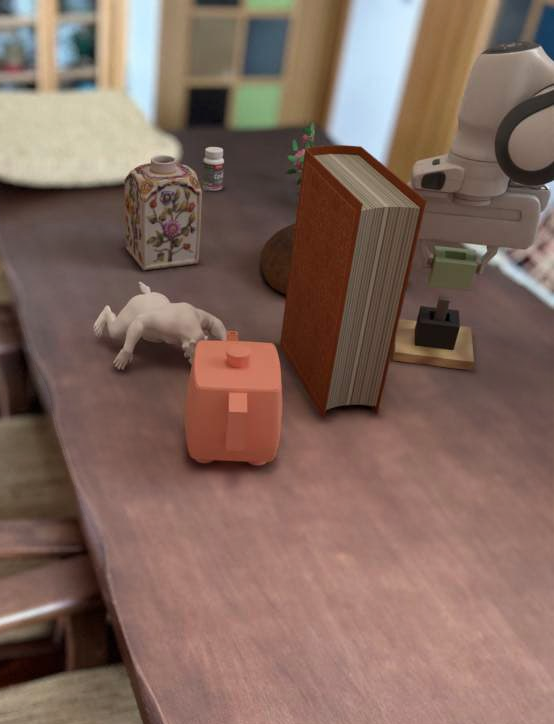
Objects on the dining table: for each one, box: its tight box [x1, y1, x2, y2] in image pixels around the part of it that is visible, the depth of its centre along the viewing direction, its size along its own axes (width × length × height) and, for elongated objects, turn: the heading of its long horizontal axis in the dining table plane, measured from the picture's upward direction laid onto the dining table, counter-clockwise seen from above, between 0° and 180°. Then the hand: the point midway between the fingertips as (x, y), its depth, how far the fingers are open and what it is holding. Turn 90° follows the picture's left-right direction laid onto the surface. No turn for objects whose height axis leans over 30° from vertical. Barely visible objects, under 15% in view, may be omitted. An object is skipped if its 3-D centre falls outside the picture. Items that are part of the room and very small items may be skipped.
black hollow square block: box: [415, 305, 461, 350], centre depth 131 cm, size 6×6×4 cm
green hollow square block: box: [428, 245, 478, 292], centre depth 124 cm, size 6×6×4 cm
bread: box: [259, 222, 414, 295], centre depth 151 cm, size 28×27×9 cm
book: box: [279, 144, 426, 420], centre depth 116 cm, size 23×8×30 cm, turn 9°
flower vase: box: [284, 121, 324, 186], centre depth 181 cm, size 12×12×35 cm
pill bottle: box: [201, 146, 225, 192], centre depth 187 cm, size 5×5×8 cm
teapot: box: [184, 330, 283, 466], centre depth 108 cm, size 22×13×14 cm, turn 177°
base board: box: [392, 295, 475, 371], centre depth 130 cm, size 12×12×8 cm
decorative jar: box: [124, 154, 203, 272], centre depth 154 cm, size 12×12×18 cm
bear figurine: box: [92, 281, 228, 371], centre depth 128 cm, size 17×14×20 cm
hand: (451, 269), depth 125 cm, fingers closed on green hollow square block, 6 cm apart
